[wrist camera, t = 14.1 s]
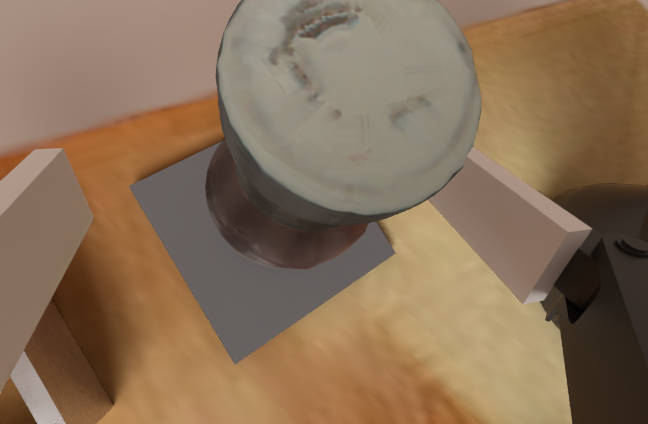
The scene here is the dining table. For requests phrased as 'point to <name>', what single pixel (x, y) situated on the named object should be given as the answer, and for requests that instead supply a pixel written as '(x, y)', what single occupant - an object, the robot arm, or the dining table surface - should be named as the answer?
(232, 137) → the sauce bottle
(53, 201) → the robot arm
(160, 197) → the rubber mat
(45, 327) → the grey shallow open box
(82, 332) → the dining table surface
